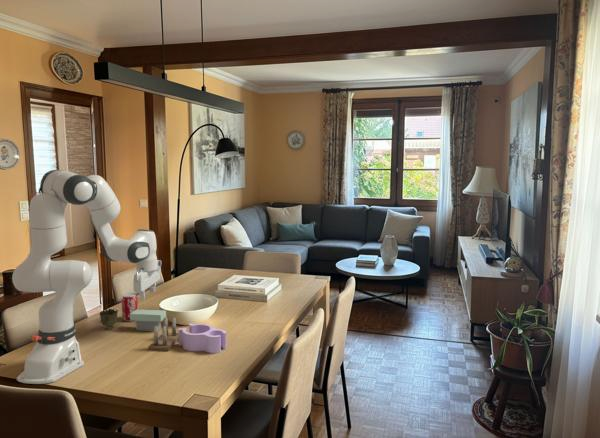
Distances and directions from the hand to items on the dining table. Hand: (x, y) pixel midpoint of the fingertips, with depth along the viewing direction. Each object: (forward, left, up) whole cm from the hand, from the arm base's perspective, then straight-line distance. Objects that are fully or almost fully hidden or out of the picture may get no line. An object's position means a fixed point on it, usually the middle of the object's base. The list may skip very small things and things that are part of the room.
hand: (148, 295), depth 203 cm
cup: (-1, +18, -16) cm, 24 cm away
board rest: (0, 0, -15) cm, 15 cm away
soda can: (+11, +14, -16) cm, 24 cm away
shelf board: (0, 0, -10) cm, 10 cm away
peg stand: (-14, -13, -15) cm, 25 cm away
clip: (-15, -30, -16) cm, 37 cm away
